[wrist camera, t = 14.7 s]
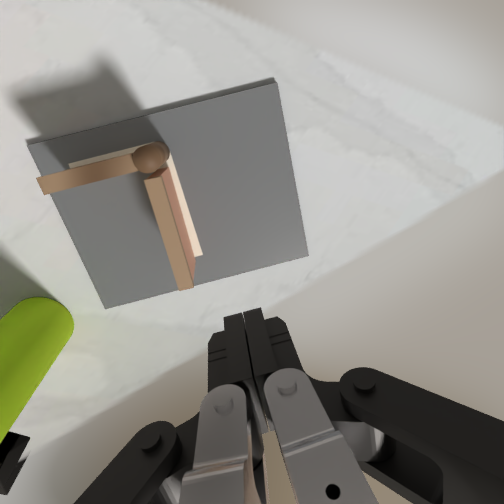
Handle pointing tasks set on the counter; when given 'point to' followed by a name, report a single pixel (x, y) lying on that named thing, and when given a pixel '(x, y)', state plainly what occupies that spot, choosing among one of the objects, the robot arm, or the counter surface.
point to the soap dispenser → (28, 352)
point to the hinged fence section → (172, 226)
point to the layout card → (183, 194)
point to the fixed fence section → (107, 168)
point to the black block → (11, 459)
